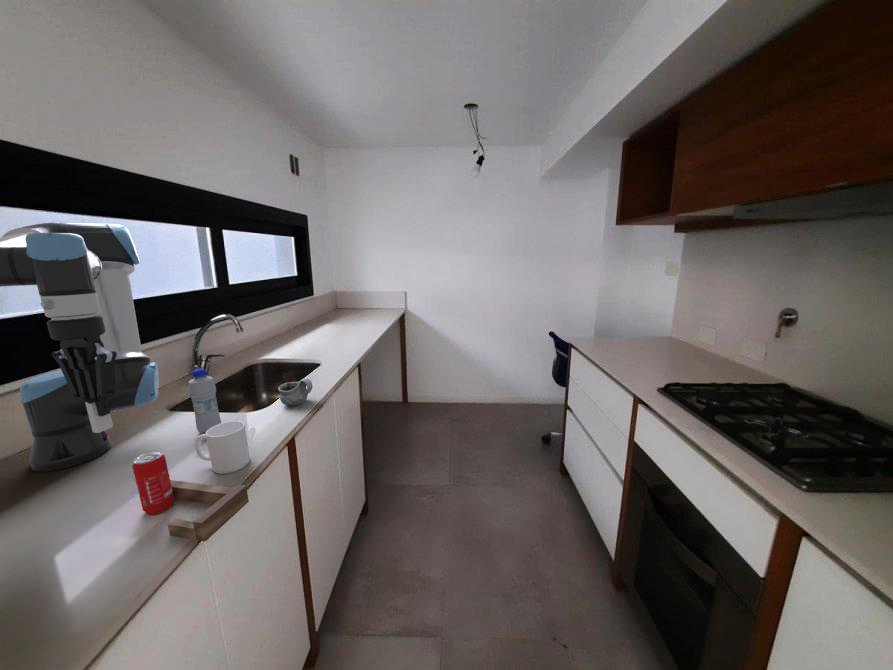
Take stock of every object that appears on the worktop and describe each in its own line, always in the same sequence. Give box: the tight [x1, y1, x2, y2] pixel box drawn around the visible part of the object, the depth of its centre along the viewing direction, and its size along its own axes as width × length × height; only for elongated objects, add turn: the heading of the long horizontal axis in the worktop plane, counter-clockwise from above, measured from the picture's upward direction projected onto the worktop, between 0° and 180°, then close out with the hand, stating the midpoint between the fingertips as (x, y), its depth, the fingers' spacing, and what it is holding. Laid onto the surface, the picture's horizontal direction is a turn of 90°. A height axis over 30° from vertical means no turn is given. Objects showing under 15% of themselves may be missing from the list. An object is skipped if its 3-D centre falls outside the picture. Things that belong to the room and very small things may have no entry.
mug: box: [277, 377, 313, 407], centre depth 126 cm, size 10×12×10 cm
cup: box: [194, 420, 251, 475], centre depth 89 cm, size 8×12×10 cm
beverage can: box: [131, 450, 175, 516], centre depth 73 cm, size 5×5×12 cm
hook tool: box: [166, 479, 249, 542], centre depth 72 cm, size 20×11×4 cm, turn 79°
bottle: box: [188, 368, 222, 435], centre depth 106 cm, size 7×7×20 cm
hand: (103, 429), depth 73 cm, fingers closed
